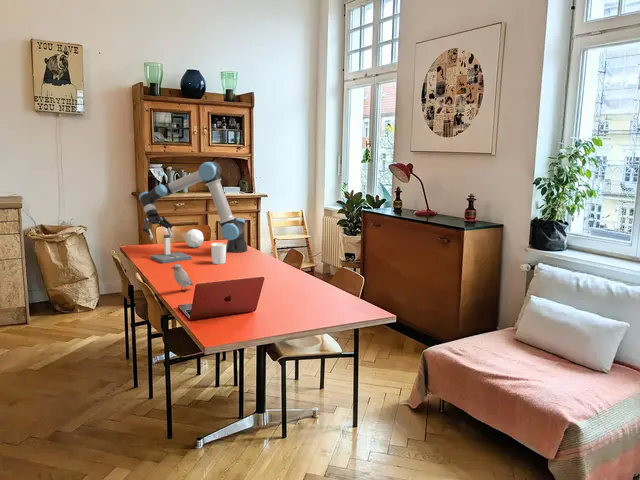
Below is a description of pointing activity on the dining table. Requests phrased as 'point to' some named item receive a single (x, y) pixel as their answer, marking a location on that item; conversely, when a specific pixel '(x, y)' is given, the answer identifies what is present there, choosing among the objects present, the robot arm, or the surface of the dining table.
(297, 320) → the dining table surface
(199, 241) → the geodesic sphere
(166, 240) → the fader knob
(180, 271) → the bird
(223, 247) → the candle holder
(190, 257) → the board
